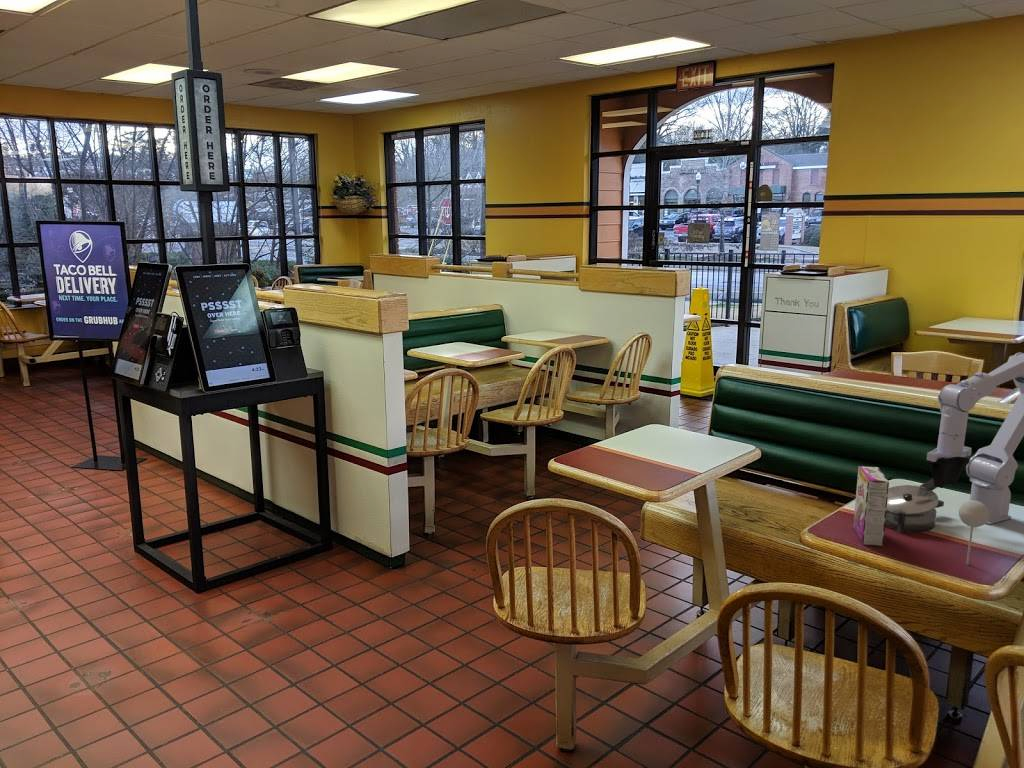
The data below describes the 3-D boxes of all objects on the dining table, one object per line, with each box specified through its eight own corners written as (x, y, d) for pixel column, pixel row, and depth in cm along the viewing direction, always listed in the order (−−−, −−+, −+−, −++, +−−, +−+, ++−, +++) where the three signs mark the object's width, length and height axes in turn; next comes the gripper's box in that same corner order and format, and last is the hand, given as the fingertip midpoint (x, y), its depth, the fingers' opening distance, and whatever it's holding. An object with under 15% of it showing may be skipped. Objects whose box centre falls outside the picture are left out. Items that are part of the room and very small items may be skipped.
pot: (915, 506, 216) (917, 488, 215) (961, 522, 205) (963, 503, 204) (864, 518, 207) (866, 500, 206) (909, 536, 196) (911, 517, 195)
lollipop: (958, 556, 185) (966, 494, 182) (986, 564, 180) (995, 501, 177) (947, 563, 181) (955, 500, 178) (976, 572, 176) (984, 508, 173)
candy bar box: (851, 527, 202) (857, 465, 198) (872, 529, 201) (879, 466, 197) (861, 545, 191) (867, 479, 187) (883, 547, 190) (890, 481, 186)
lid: (914, 475, 214) (914, 470, 214) (963, 490, 202) (962, 485, 202) (867, 503, 207) (866, 498, 207) (914, 521, 195) (913, 515, 195)
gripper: (948, 440, 192) (941, 494, 195) (986, 434, 199) (978, 486, 201) (922, 433, 198) (915, 485, 201) (959, 427, 205) (952, 478, 207)
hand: (945, 485), depth 202 cm, fingers open, 4 cm apart
